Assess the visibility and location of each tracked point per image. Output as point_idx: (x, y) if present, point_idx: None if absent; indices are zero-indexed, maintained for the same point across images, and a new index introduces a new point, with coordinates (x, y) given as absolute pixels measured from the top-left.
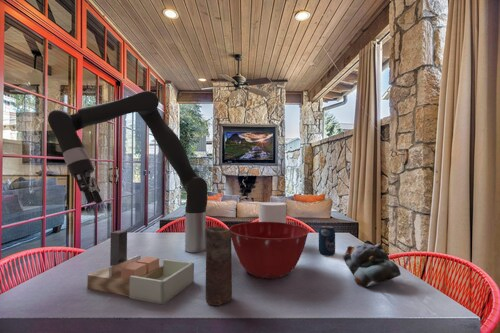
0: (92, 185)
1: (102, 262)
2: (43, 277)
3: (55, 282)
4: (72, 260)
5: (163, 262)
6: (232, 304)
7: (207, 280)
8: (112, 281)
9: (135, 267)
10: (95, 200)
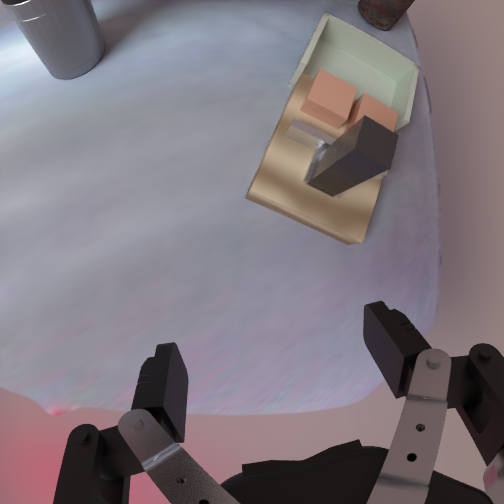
0: (277, 471)
1: (158, 302)
2: (276, 398)
3: (311, 345)
4: None
5: (304, 67)
6: None
7: (403, 11)
8: None
9: (386, 112)
10: (185, 394)
